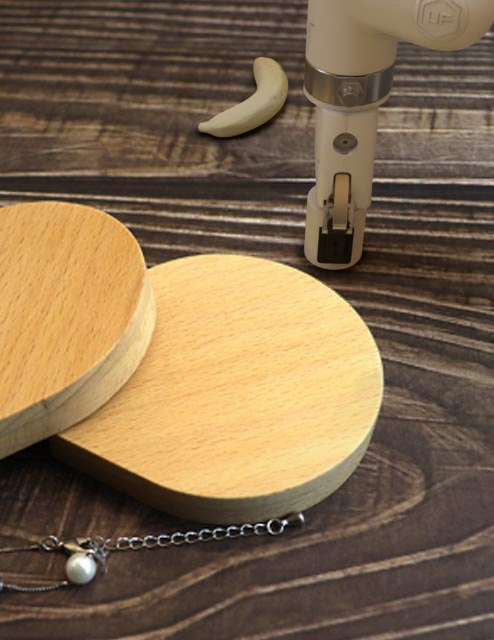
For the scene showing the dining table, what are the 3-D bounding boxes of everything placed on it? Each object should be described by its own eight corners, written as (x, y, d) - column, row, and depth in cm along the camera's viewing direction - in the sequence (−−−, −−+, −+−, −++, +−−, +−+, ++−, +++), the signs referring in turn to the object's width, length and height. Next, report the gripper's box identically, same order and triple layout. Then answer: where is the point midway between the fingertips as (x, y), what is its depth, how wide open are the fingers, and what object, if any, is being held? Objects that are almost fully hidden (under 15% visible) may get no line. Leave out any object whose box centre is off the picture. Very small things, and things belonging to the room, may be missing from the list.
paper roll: (332, 227, 103) (337, 172, 99) (373, 252, 100) (380, 197, 95) (292, 250, 101) (295, 195, 96) (332, 277, 98) (337, 222, 93)
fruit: (309, 85, 123) (310, 60, 120) (251, 148, 114) (252, 122, 112) (256, 73, 126) (256, 48, 123) (196, 134, 117) (195, 108, 115)
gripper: (398, 129, 80) (375, 300, 93) (389, 25, 92) (370, 190, 105) (302, 128, 81) (292, 297, 94) (305, 25, 93) (296, 188, 106)
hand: (333, 239), depth 100 cm, fingers closed on paper roll, 5 cm apart
